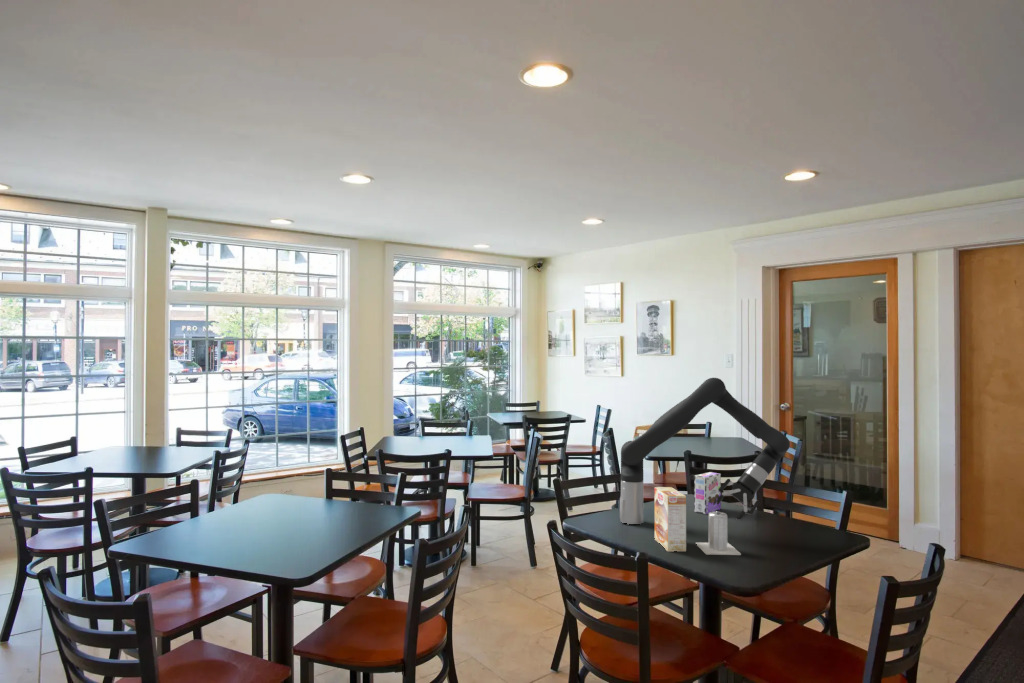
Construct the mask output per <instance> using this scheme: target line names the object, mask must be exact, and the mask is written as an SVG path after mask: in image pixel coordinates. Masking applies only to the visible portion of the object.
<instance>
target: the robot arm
mask: <svg viewBox="0 0 1024 683" xmlns="http://www.w3.org/2000/svg"><path fill="white" fill-rule="evenodd" d="M710 404H714V405H715V406H717V407H718V408H720V409H722V411H724V412H726V413H727V414H728V415H729V416H731V417H732V418H733V419H734V420H736V422H738V424H740V426H742V427H743V428H744V429H745V430H747V432H749V433H750V434H751V435H752V436H753V437H755V439H760V440H762V441H763V442H764V443H766V446H765V447H764V448H763V450H762V451H761V453H759V454H758V455H756V458H755V459H754V460H753V462H751V464H750V465H749V466H748V467H747V468H745V470H744V472H743V473H742V475H740V477H739V478H738V479H737V481H736V482H733V481H732V480H731V479H730V478H727V479H726V480H725V481H724V482H723V483H722V484H721V487H720V488H719V492H720V493H721V495H720V496H719V498H718V499H717V501H716V502H717V505H718V504H719V503H720V502H722V501H723V500H724V499H725V497H728V496H732V497H733V498H734V499H736V500H737V501H738V502H739V503H742V506H743V507H742V511H741V512H740V513H739V514H738V516H737V517H736V520H737V521H739V520H742V519H743V518H744V516H746V514H747V515H749V516H753V514H754V512H755V511H756V509H757V508H758V506H759V504H760V503H761V502H760V500H758V499H756V498H754V497H755V494H756V493H757V492H758V491H759V489H760V488H761V487H762V485H763V484H764V483H765V481H766V480H767V478H768V476H769V475H770V473H772V471H773V470H774V469H775V467H776V465H777V463H779V461H780V460H781V459H782V458H783V456H784V455H785V454H786V453H788V450H789V449H790V447H791V442H790V440H789V438H788V437H787V436H786V435H785V434H784V433H782V432H781V431H780V430H779V429H776V428H774V427H773V426H771V425H770V424H768V423H767V422H766V421H765V420H764V419H763V418H762V417H761V416H759V415H758V414H756V413H755V412H754V411H752V410H751V409H749V407H747V406H745V405H744V404H742V403H740V401H738V400H737V399H736V398H734V396H732V394H731V393H730V392H729V391H728V389H727V388H726V384H725V382H724V381H723V380H722V379H721V378H718V377H709V378H707V379H705V380H704V381H703V382H702V383H701V384H700V385H699V386H698V387H697V388H696V389H695V390H694V391H693V392H691V394H690V395H689V396H687V397H686V398H684V399H683V400H681V401H680V402H679V403H677V404H675V405H674V406H673V407H670V408H669V409H668V410H666V412H664V413H663V414H662V415H661V416H660V417H658V418H657V419H656V420H655V421H654V423H652V425H650V427H649V428H648V429H647V430H646V431H645V432H644V433H643V434H641V435H640V436H639V437H636V438H635V439H634V440H629V441H626V442H625V443H624V444H623V445H622V446H621V449H620V497H619V521H620V523H621V522H622V523H627V524H626V525H629V524H640V523H643V524H644V459H645V458H646V457H647V456H648V455H649V454H650V453H651V452H652V451H654V450H655V449H656V448H657V447H658V446H659V447H660V445H662V444H663V443H666V442H667V441H668V440H669V439H671V438H672V437H674V436H675V435H677V434H678V433H679V432H681V431H682V430H683V429H685V428H686V426H688V425H689V424H690V423H691V422H692V421H693V419H694V418H695V417H696V416H698V414H699V413H700V411H702V410H703V409H704V408H706V407H707V406H709V405H710ZM727 486H728V487H730V486H731V490H727V491H724V489H725V488H726V487H727ZM751 501H752V505H753V506H752V507H751V508H750V510H749V509H748V502H751ZM622 523H621V524H622ZM640 525H641V524H640Z"/></svg>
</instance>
